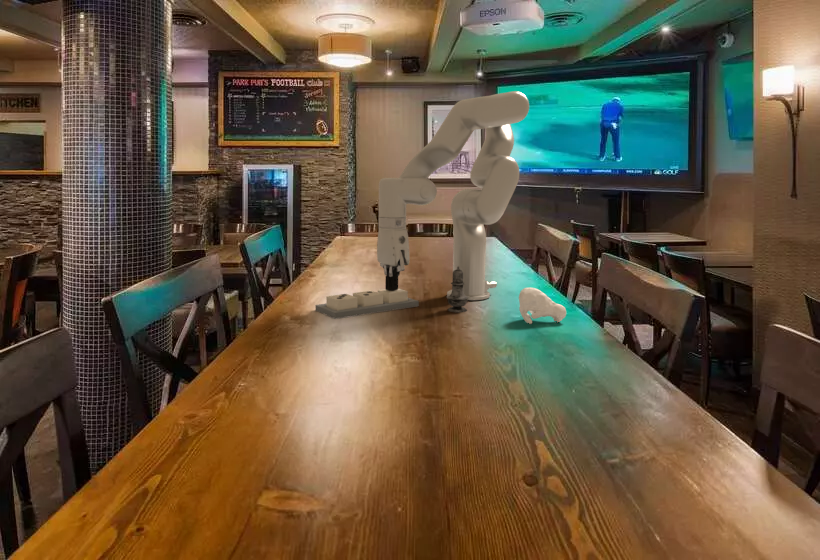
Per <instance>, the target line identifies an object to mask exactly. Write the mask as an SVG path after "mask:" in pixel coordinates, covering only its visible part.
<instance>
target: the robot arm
mask: <svg viewBox="0 0 820 560" xmlns="http://www.w3.org/2000/svg"><path fill="white" fill-rule="evenodd" d="M529 102H530V101H529V99H528V98H527V96H526V95H525V94H524V93H522V92H521V91H517V90H514V91H508V92H501V93H500V92H499V93H496V94H495V93H494V94H491V95H486V96H485V95H484V96H478V97H473V98H472V97H471V98H466V99H465V98H464V99H461V100H459V101H457V102H455V104H454V105H453V106H452V108H451V109H450V110H449V112H448V114H447V116H446V117H445V119H444V120H443V122H442V123H441V125H440V126H439V128H438V130H437V131H436V132H435V134H434V135H433V137H432V139H431V140H430V141H429V142H428V143H427V144H426V145H425V146H424V147H423V148H422V149H420V151H419V152H418V153H417V154H416V155H414V156H413V158H412V159H411V160H410V161H409V162H408V163H407V165H406V166H405V168H404V169H403V170H402V173H401V174H400V175H399V177H383V178H381V179H379V182H378V232H377V233H378V234H377V244H376V257H377V262H379V266H380V267H381V268H382V269H383V272H384V276H385V285H384V287H385V288H384V289H386V290H388V291H392V290H398V288H399V276H400V274H401V272H403V271H404V272H405V266H409V264H410V240H409V234H408V230H407V205H415V206H416V205H417V206H427V205H429V204H430V203H432V202H433V201H434V200H435V199H436V197H437V193H438V191H437V186H436V185H435V183H434V182H433V181H432V180H430V179H429V177H430V176H431V175H432V174H433V173H434V172H435V171H437V170H438V169H441V168H442V167H444V166H446V165H448V164H450V163H451V162H452V161H455V159H457V158H458V157H459V155H460V153H461V151H462V150H463V148H464V146H465V145H466V143H467V141H468V140H469V139H470V138H471V136H472V134H473V132H474V131H476V130H483V129H485V139H484V142H483V144H482V146H481V149H480V150H479V152H478V154H477V157H476V159H475V161H474V163H473V165H472V167H471V170H470V175H469V176H470V177H469V178H470V181H471V183H472V185H474V186H475V187H477V188H480V189H476V188H475V189H473V188H470V189H469V188H467V189H466V188H465V189H462V190H460V191H459V192H457V193H456V194H455V195H454V196H453V198H452V200H451V204H450V211H451V212H450V213H451V214H450V215H451V218H452V219H451V221H452V225H453V226H452V228H453V229H452V230H453V243H452V244H453V246H452V247H453V248H452V251H453V252H452V272H453V271H454V270H456V269H457V267H458V266H459V269H460V270H462V271H463V282H464V283H465V284H464V285H463V292H464V295H465V296H468V299H467V301H482V300H483V301H484V300H487V299H489V298H490V296H491V295H490V294H491V293H490V292H489V291H488V290H489V289H495V288H497V286H498V285H497V282H496V281H490V282H489V281H488V280H486V255H487V253H486V249H487V234H486V233H487V232H486V228H485V225H487V226H488V225H489V226H490V225H493V224H495V223H497V222H498V221H499V220H500V219H501V218H502V216H503V215H504V213H505V211H506V209H507V207H508V205H509V203H510V201H511V198H512V197H513V194H514V193H515V190H516V187H517V185H518V183H519V180H520V167H519V165H518V162H517V161H516V160H515V159H514V158H513V157H511V154H512V151H513V148H514V144H515V138H514V132H513V129H512V124H517V123H519V122H521V121H523V120H525V118H526V117H527V116H528V113H529V110H530V103H529ZM451 293H452V289H449V290H447V293H446V295H447V296H449V295H451ZM447 296H446V297H447Z"/></svg>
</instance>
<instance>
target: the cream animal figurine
mask: <svg viewBox="0 0 820 560" xmlns="http://www.w3.org/2000/svg"><path fill="white" fill-rule="evenodd" d="M518 302H519V307H518V308H519V313H520V316H521V317H522V318H523V320H524V321H525V323H526V324H528V323H529V324H528V325H532V324H533V320H534V319H538V318H546V317H551V318H552V319H553V321H557V323H558V322H560V321H561V322H562V321H563V319H565V318H566V316H567V310H566V307H565V306H563V305H562V304H559V303H556V302H555V301H553V300H552V299H551V298H550V297H549V296H548V295H547V294H546V293H544V292H543V291H541V290H540V289H538V288H535V287H524V288H522V289H521V290H520V292H519V295H518ZM528 312H529V313H530V314H531V315H530V314H529V313H528ZM532 319H533V320H532ZM561 322H560V323H561Z"/></svg>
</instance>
